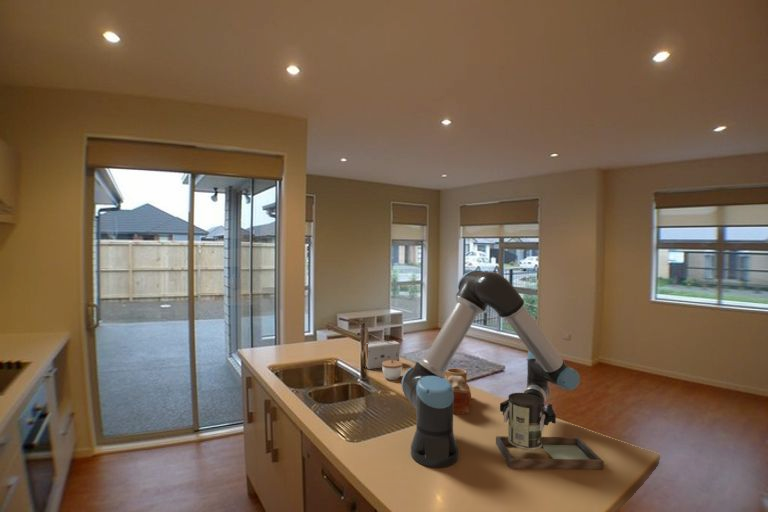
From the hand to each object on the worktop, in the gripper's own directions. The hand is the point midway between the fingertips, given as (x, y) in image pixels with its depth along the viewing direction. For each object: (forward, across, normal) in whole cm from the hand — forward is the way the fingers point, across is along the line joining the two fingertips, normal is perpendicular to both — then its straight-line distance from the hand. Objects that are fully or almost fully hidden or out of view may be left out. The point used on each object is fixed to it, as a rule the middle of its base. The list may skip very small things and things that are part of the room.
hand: (522, 422), depth 116 cm
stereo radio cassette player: (-61, +87, -13) cm, 107 cm away
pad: (-11, -12, -12) cm, 21 cm away
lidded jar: (-47, +72, -13) cm, 87 cm away
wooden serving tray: (-8, -6, -12) cm, 16 cm away
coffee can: (-4, 0, -8) cm, 9 cm away
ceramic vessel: (-31, +32, -13) cm, 47 cm away
